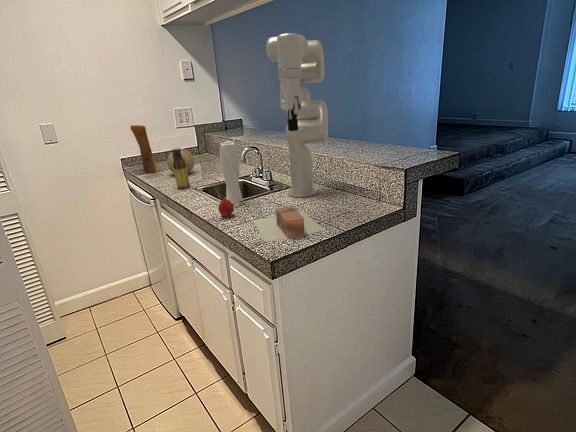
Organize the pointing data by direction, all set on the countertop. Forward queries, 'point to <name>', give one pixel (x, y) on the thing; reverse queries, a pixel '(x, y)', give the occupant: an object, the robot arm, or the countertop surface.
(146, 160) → the brown tall curved piece
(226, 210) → the onion
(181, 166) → the sauce bottle
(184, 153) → the cantaloupe
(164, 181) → the countertop surface
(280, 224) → the copper block
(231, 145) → the skyscraper
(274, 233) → the mat
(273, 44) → the robot arm
